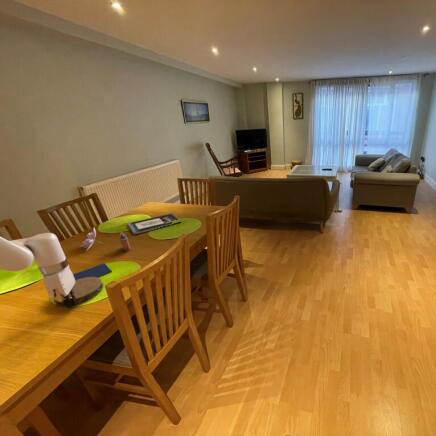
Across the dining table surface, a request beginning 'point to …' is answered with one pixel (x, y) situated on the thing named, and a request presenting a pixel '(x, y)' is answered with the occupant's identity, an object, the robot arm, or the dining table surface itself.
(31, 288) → the dining table surface
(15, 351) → the dining table surface
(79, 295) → the brown round disc
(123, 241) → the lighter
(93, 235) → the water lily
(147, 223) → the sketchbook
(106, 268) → the cloth
